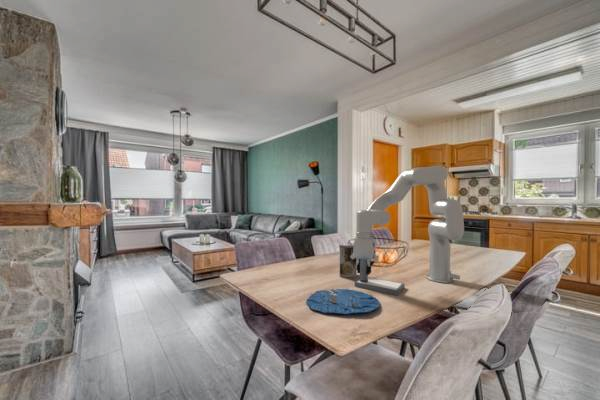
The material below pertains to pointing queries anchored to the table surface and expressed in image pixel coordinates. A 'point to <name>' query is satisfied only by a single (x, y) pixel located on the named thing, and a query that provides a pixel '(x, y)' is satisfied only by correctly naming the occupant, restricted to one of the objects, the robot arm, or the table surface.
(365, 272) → the marker
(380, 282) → the drawing board
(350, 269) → the coffee box
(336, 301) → the decorative plate
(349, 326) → the table surface
